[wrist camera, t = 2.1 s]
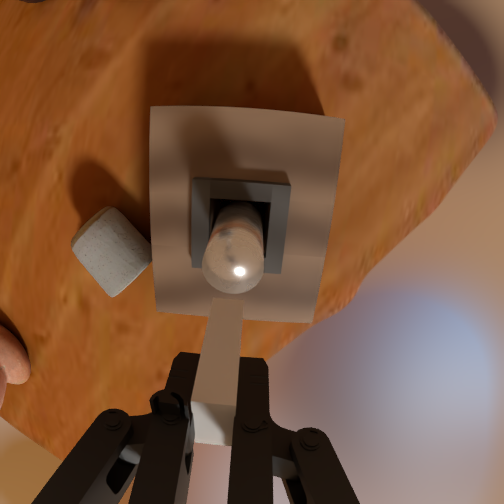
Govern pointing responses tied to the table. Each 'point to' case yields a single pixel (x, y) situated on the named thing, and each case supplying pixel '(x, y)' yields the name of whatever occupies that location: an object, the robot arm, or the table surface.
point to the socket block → (242, 188)
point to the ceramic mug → (111, 250)
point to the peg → (235, 249)
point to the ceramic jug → (12, 361)
